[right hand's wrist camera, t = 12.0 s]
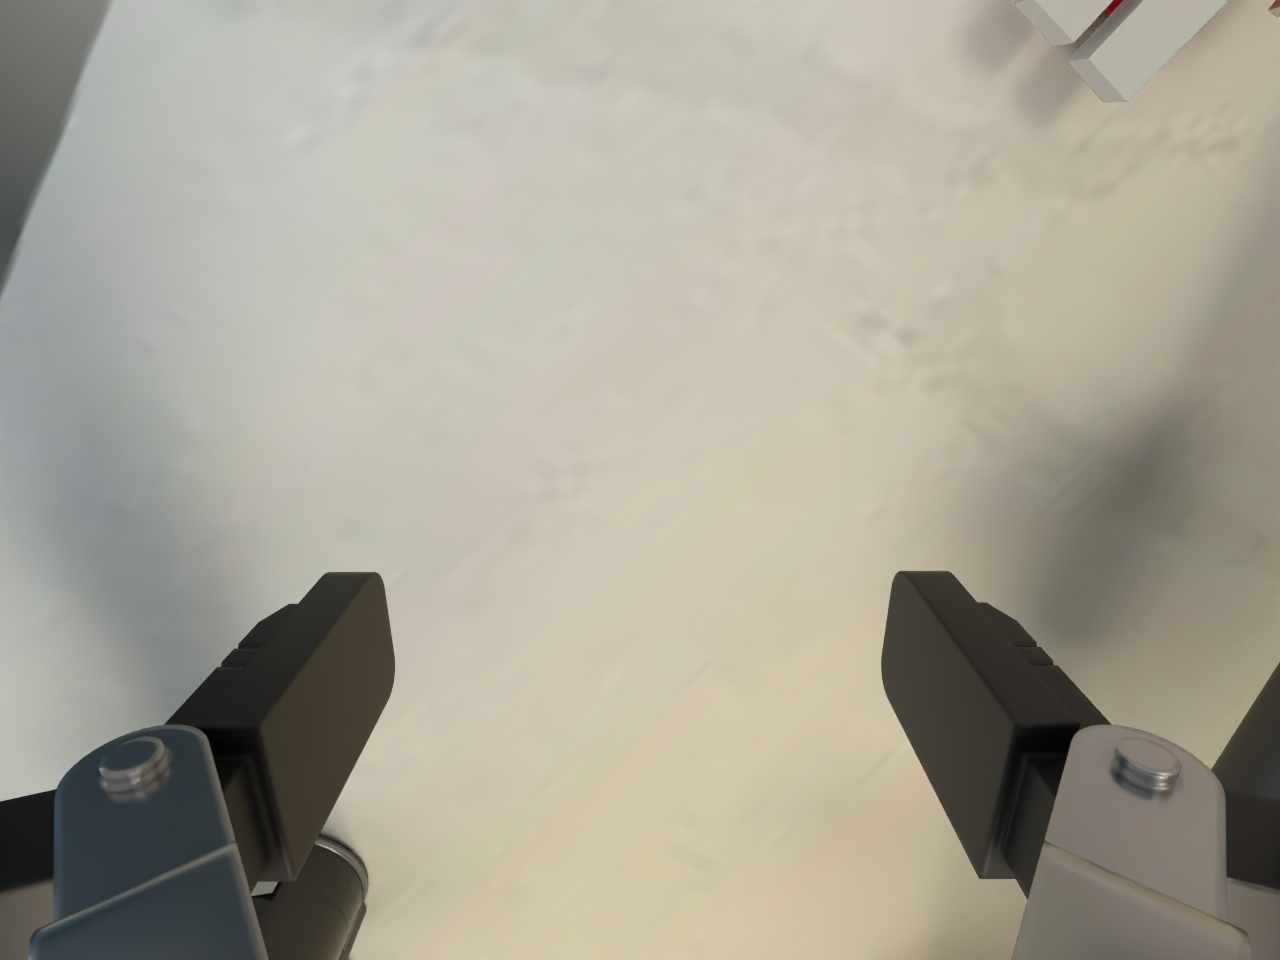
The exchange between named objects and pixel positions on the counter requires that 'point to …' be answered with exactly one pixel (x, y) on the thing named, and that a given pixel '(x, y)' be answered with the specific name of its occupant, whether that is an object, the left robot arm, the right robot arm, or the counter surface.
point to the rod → (1255, 747)
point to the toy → (1121, 37)
